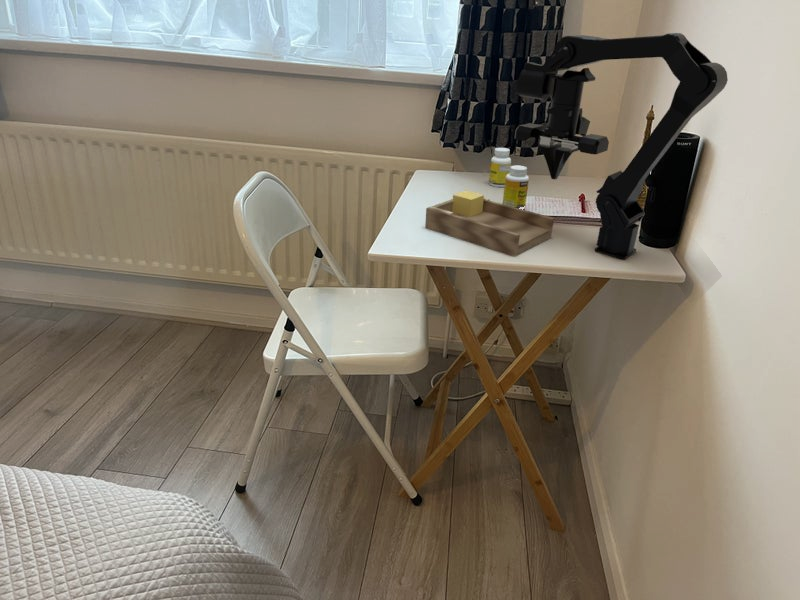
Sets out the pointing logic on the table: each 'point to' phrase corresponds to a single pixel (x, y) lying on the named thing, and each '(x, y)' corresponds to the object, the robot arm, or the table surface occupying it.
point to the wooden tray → (492, 226)
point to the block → (467, 203)
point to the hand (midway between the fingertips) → (554, 178)
